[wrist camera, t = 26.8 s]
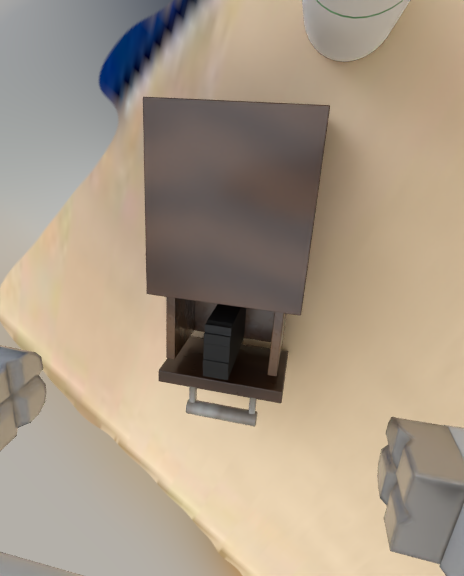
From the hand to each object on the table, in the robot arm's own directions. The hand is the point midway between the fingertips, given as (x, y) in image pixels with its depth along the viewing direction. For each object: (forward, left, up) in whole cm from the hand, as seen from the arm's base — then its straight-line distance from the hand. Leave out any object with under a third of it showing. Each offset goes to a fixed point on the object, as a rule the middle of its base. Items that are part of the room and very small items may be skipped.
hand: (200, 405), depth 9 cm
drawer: (+4, +11, -28) cm, 30 cm away
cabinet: (+4, -1, -29) cm, 29 cm away
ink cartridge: (+4, +10, -27) cm, 29 cm away
